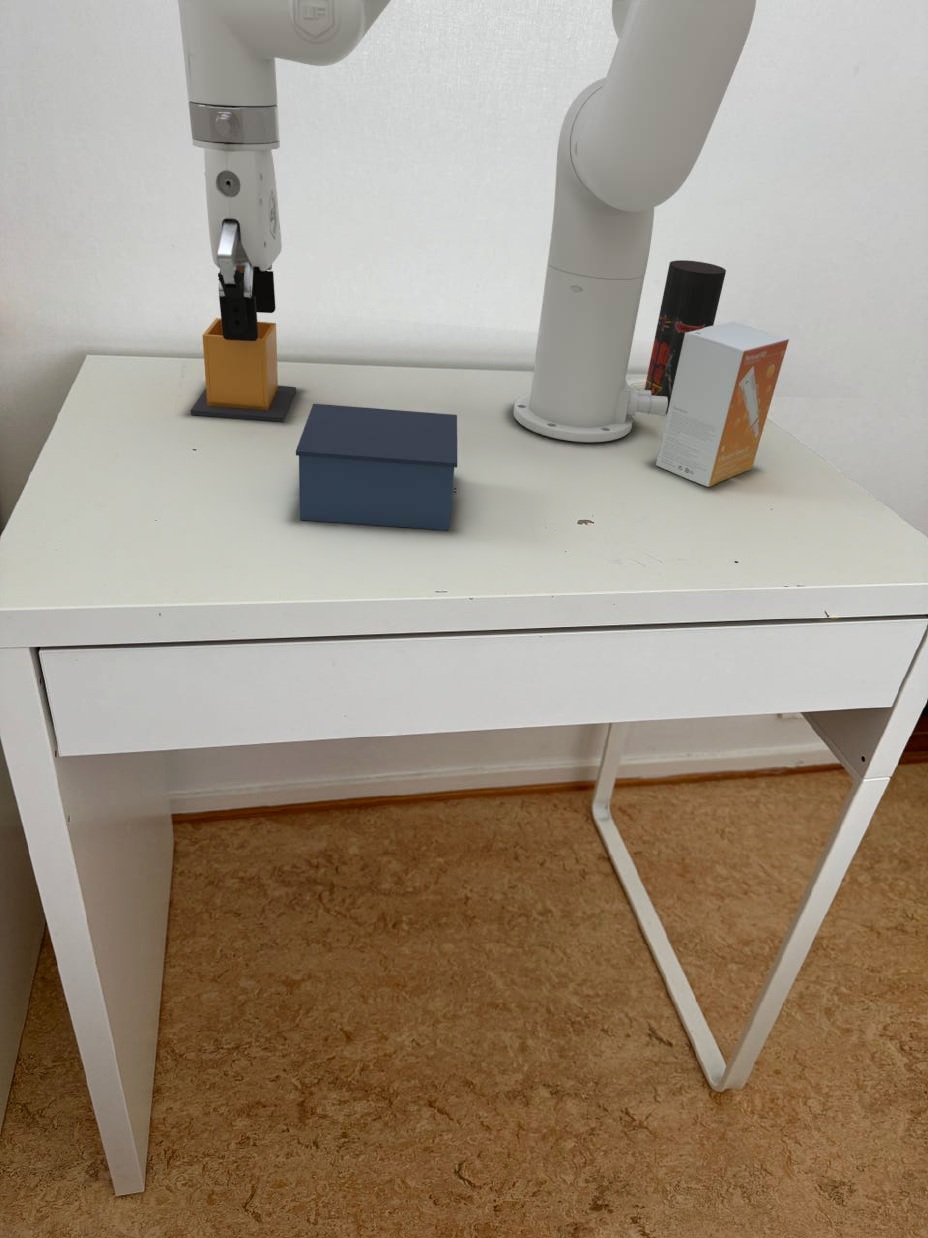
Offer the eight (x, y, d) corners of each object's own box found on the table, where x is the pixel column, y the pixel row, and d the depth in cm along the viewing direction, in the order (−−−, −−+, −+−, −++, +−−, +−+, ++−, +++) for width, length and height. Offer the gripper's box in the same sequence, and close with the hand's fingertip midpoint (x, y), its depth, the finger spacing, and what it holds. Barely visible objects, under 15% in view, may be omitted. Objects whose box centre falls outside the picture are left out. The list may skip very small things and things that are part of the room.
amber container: (277, 390, 96) (276, 322, 92) (268, 410, 91) (265, 340, 87) (220, 385, 95) (216, 317, 92) (207, 405, 90) (202, 334, 87)
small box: (708, 489, 85) (744, 350, 78) (653, 465, 89) (682, 330, 81) (754, 469, 90) (791, 337, 83) (700, 448, 94) (731, 319, 86)
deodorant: (655, 391, 108) (683, 257, 100) (702, 404, 105) (734, 268, 97) (633, 402, 103) (660, 264, 95) (681, 417, 101) (713, 276, 93)
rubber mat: (296, 391, 97) (296, 386, 97) (283, 422, 90) (283, 417, 90) (211, 384, 97) (210, 379, 97) (190, 414, 89) (190, 410, 89)
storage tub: (451, 478, 82) (457, 414, 79) (451, 532, 73) (457, 462, 70) (313, 467, 82) (313, 403, 78) (296, 520, 73) (295, 450, 70)
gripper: (260, 140, 73) (274, 353, 82) (292, 120, 87) (301, 303, 97) (166, 135, 72) (190, 349, 82) (213, 116, 87) (230, 300, 96)
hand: (250, 324), depth 89 cm, fingers open, 9 cm apart
